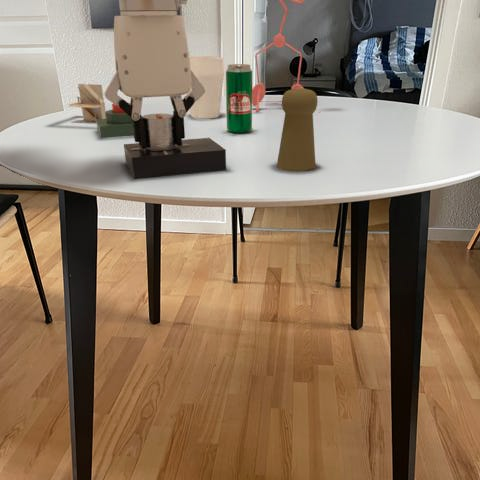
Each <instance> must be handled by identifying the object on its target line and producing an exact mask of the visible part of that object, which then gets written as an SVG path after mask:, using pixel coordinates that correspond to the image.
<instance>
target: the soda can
mask: <svg viewBox="0 0 480 480" xmlns="http://www.w3.org/2000/svg"><path fill="white" fill-rule="evenodd" d="M252 89H253V70H252V68H251V64H246V63H232V64H228V65H227V69H226V70H225V100H226V101H225V105H226V106H225V107H226V109H225V110H226V111H225V112H226V130H227V131H228V133H230V134H237V135H238V134H240V135H241V134H249V133H250V132H251V131H252V129H253V104H252Z"/></svg>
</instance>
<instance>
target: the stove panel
mask: <svg viewBox="0 0 480 480" xmlns="http://www.w3.org/2000/svg"><path fill="white" fill-rule="evenodd" d="M123 151H124V160H125V164H126V166H127V168H128V170H129V172H130V174H131V175H132V177H133V179H144V178H145V179H146V178H155V177H157V178H158V177H165V176H177V175H188V174H198V173H208V172H219V171H227V150H226V148H224V147H223V146H221V145H220V144H218V143H217V142H216V141H214V139H212V138H211V137H202V138H188V139H182V146H178V145H176V147H175V148H174V149H172V150H167V151H150V150H147V149H142V148H141V147H140V146H139V142H134V143H124V144H123Z"/></svg>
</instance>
